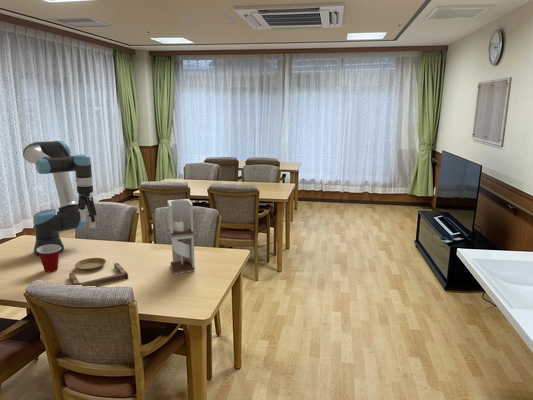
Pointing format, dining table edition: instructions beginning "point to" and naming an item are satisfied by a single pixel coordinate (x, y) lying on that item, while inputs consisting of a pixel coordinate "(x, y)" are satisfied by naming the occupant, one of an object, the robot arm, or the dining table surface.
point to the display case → (181, 235)
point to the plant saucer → (90, 264)
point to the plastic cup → (49, 257)
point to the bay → (101, 281)
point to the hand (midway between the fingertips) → (88, 224)
